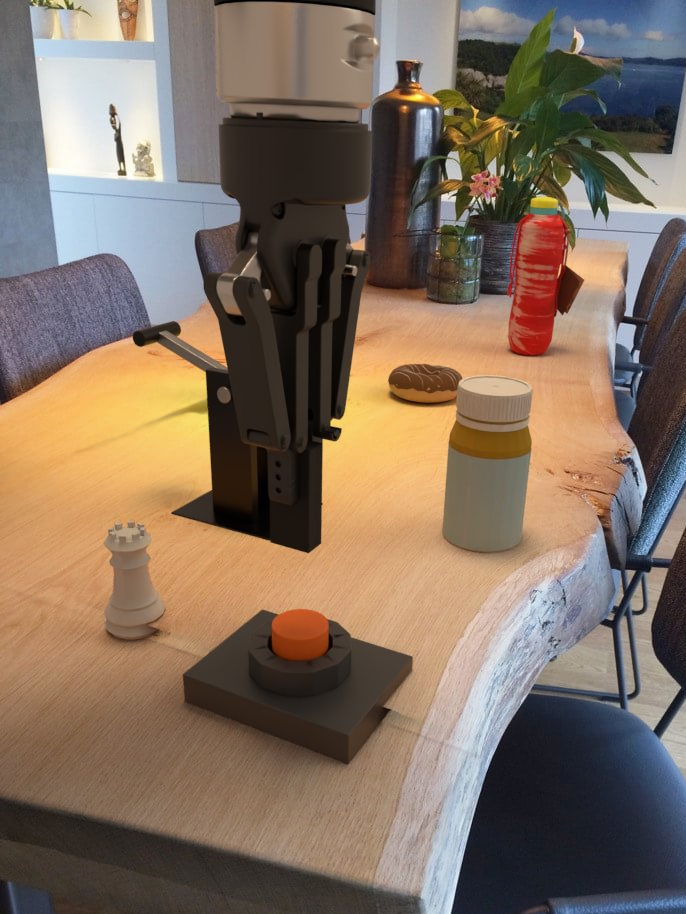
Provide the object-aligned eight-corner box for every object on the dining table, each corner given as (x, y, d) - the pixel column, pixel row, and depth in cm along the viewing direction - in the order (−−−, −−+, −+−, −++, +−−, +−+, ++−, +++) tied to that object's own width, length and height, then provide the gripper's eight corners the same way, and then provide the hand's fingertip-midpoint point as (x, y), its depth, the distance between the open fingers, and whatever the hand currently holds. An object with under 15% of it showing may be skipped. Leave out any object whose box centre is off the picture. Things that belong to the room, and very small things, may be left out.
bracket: (171, 525, 77) (159, 369, 71) (229, 491, 84) (222, 347, 78) (271, 553, 72) (267, 389, 66) (323, 515, 80) (323, 364, 74)
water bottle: (565, 347, 146) (585, 196, 136) (577, 358, 139) (598, 200, 128) (498, 345, 146) (512, 194, 135) (505, 356, 138) (521, 198, 128)
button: (260, 652, 52) (260, 629, 52) (291, 625, 55) (291, 603, 55) (309, 669, 51) (310, 645, 50) (338, 640, 54) (338, 617, 53)
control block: (184, 702, 53) (180, 650, 52) (262, 634, 61) (261, 587, 59) (348, 765, 48) (349, 710, 47) (411, 683, 56) (414, 633, 54)
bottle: (457, 523, 79) (470, 369, 73) (529, 539, 76) (547, 381, 70) (429, 553, 73) (440, 389, 67) (505, 572, 70) (523, 402, 64)
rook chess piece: (152, 646, 59) (143, 546, 56) (94, 638, 60) (81, 539, 56) (177, 613, 63) (169, 518, 60) (122, 606, 64) (111, 512, 60)
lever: (129, 347, 74) (134, 323, 73) (166, 336, 78) (172, 313, 77) (236, 413, 71) (243, 389, 70) (268, 399, 75) (276, 376, 74)
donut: (394, 407, 111) (395, 378, 109) (381, 385, 121) (382, 358, 119) (471, 406, 113) (473, 377, 111) (452, 384, 122) (454, 357, 121)
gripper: (289, 113, 34) (291, 609, 43) (420, 120, 44) (397, 517, 54) (145, 107, 37) (177, 572, 46) (300, 115, 47) (299, 492, 57)
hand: (295, 542), depth 50 cm, fingers closed
